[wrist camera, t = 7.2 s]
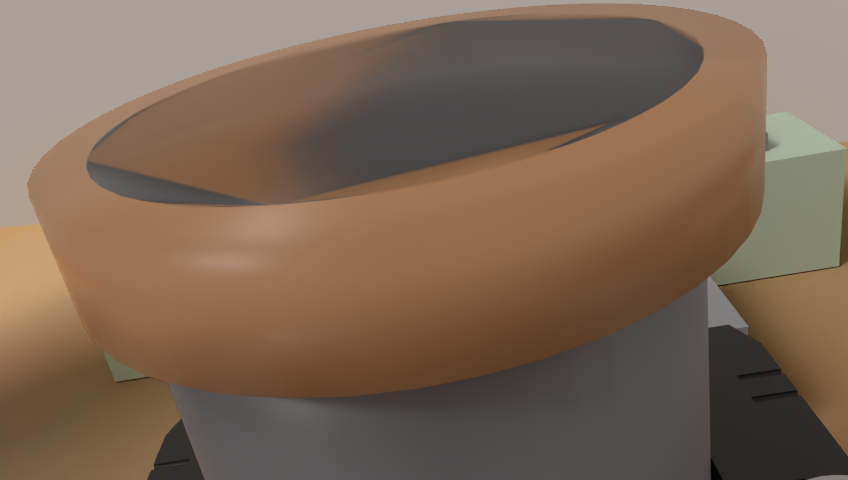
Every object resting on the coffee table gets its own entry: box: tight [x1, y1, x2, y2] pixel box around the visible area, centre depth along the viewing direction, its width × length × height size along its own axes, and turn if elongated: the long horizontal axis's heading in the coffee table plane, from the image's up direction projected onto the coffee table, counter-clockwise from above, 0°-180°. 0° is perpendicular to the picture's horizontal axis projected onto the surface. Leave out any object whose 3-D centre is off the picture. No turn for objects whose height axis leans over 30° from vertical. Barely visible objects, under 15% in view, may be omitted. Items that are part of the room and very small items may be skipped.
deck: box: [102, 112, 847, 382], centre depth 22 cm, size 24×12×9 cm, turn 91°
